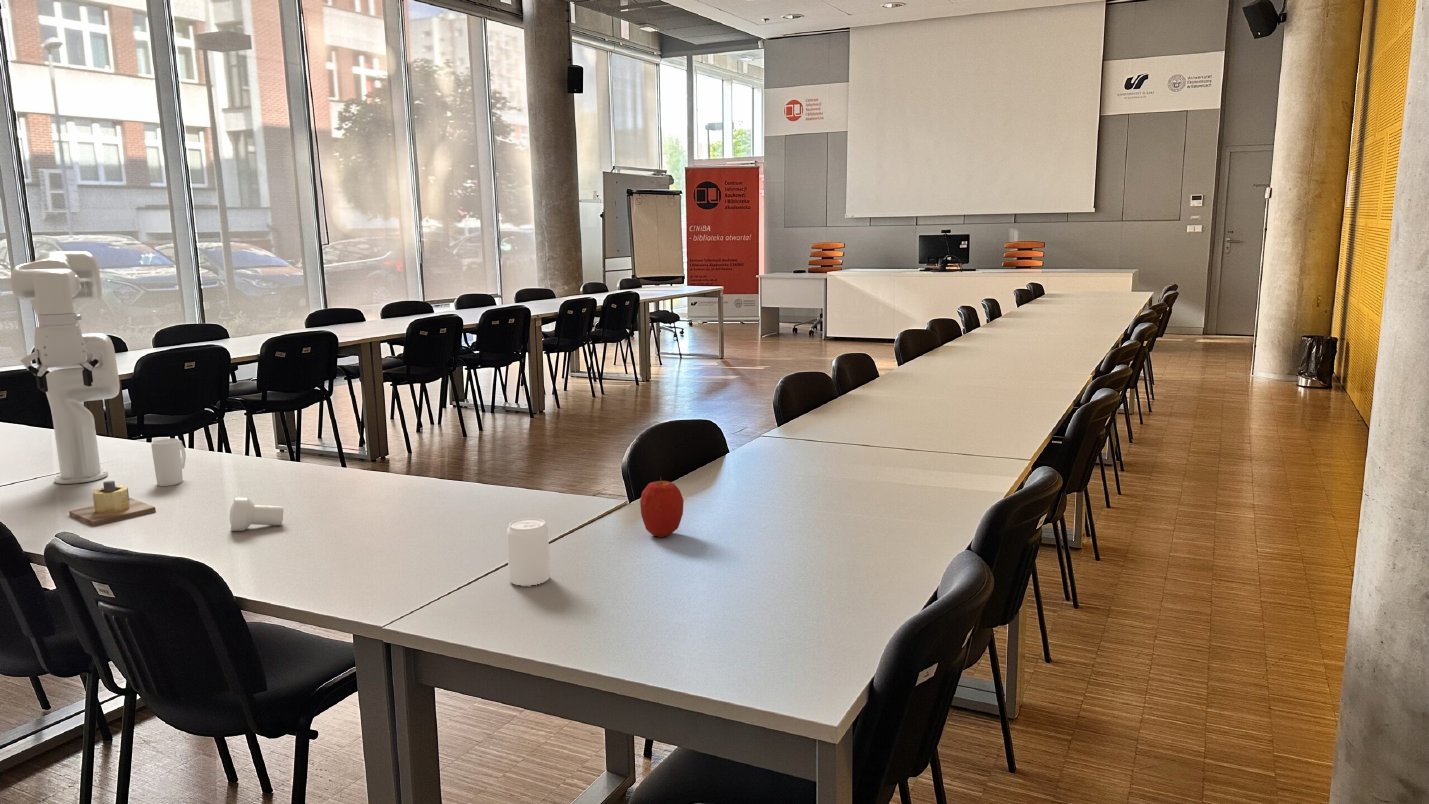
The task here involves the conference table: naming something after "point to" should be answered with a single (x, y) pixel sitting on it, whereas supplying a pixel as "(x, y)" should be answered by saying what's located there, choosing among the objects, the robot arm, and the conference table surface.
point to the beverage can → (528, 552)
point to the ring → (111, 500)
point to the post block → (96, 519)
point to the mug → (168, 461)
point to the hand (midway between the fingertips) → (66, 388)
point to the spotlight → (253, 514)
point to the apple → (661, 508)
